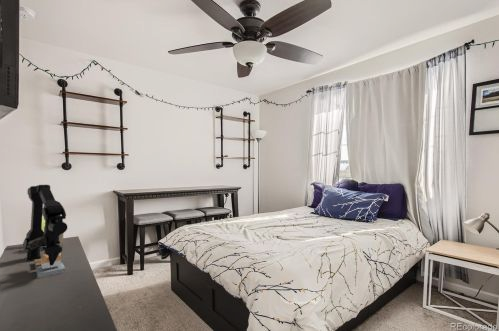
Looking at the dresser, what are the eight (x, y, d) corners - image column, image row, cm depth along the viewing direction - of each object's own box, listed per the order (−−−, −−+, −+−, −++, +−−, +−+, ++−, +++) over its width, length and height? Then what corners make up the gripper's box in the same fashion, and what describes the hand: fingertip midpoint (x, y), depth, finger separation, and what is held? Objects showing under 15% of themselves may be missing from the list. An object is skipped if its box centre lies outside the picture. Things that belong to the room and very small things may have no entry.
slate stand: (36, 271, 120) (36, 267, 120) (62, 266, 127) (62, 262, 127) (37, 278, 113) (37, 273, 113) (65, 272, 119) (65, 268, 119)
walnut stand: (34, 263, 129) (34, 259, 129) (58, 259, 136) (58, 255, 136) (35, 269, 122) (35, 265, 122) (61, 264, 129) (61, 260, 129)
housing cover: (59, 257, 124) (59, 252, 124) (60, 260, 120) (61, 255, 120) (41, 260, 119) (41, 255, 119) (42, 263, 115) (42, 258, 115)
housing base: (59, 262, 124) (59, 257, 124) (60, 265, 120) (60, 260, 120) (40, 265, 119) (41, 260, 119) (41, 269, 115) (42, 263, 115)
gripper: (29, 229, 121) (27, 261, 121) (31, 237, 108) (29, 274, 107) (57, 226, 129) (56, 256, 129) (63, 233, 115) (61, 267, 115)
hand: (50, 263), depth 120 cm, fingers closed on housing base, housing cover, 5 cm apart
